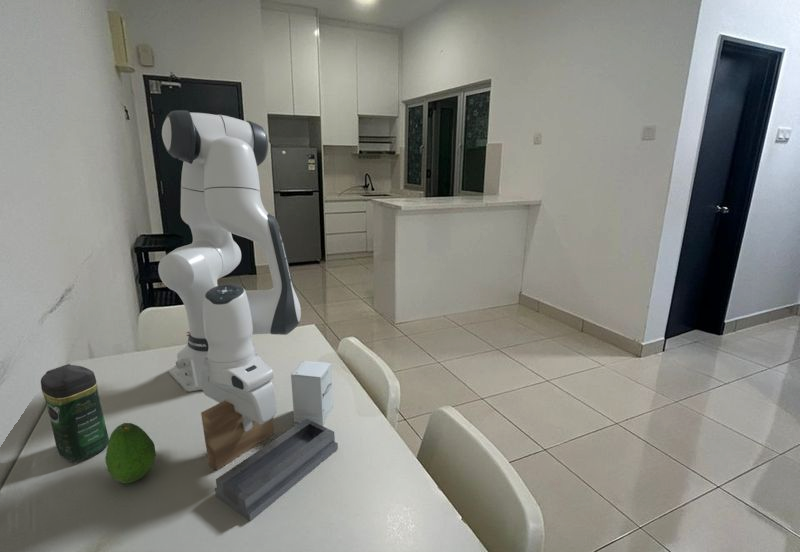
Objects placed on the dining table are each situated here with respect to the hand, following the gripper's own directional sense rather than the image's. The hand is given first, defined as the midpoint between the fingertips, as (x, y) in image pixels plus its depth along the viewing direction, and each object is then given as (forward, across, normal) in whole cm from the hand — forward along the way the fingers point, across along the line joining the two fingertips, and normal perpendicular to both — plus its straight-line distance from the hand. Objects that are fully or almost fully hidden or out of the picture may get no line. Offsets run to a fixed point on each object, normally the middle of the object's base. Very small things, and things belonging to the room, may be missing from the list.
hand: (240, 425), depth 87 cm
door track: (+6, +12, 0) cm, 13 cm away
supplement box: (+6, +4, +17) cm, 18 cm away
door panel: (+6, 0, 0) cm, 6 cm away
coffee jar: (+6, -28, -19) cm, 34 cm away
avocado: (+6, -10, -17) cm, 21 cm away
